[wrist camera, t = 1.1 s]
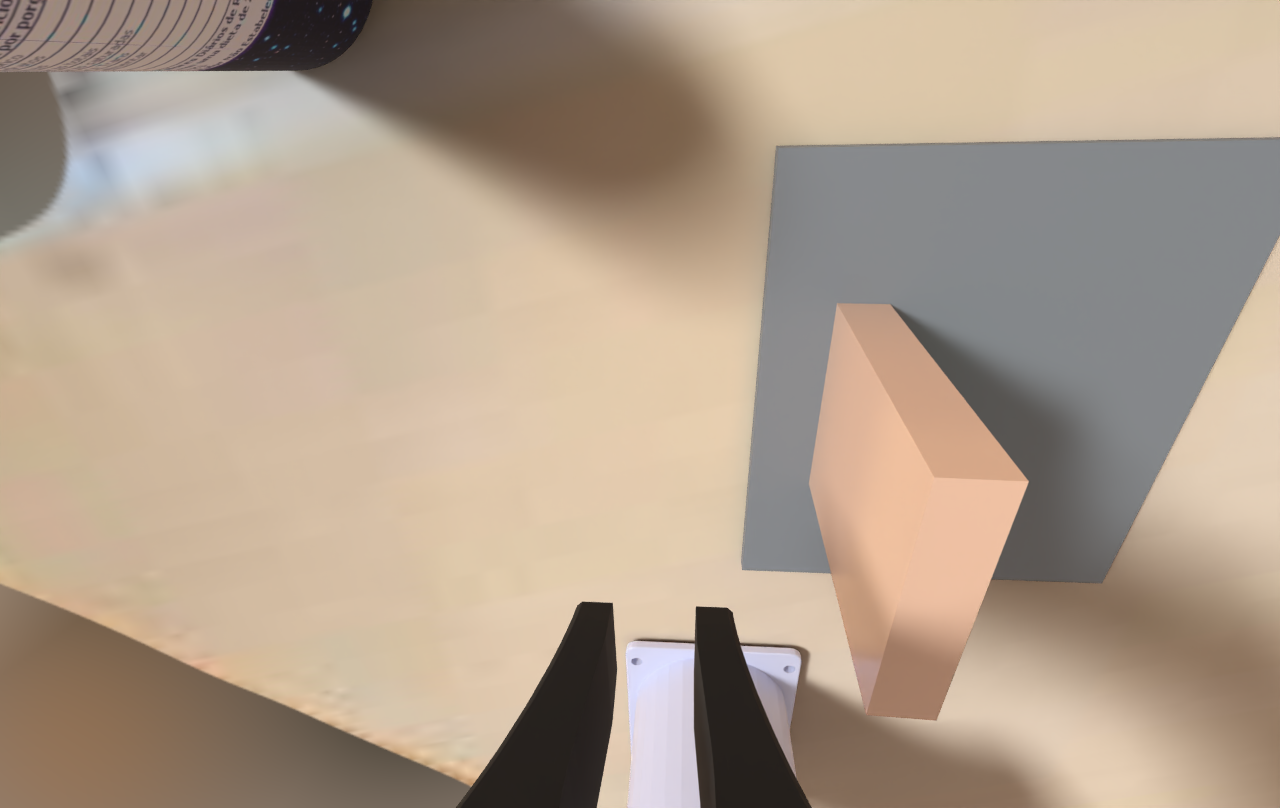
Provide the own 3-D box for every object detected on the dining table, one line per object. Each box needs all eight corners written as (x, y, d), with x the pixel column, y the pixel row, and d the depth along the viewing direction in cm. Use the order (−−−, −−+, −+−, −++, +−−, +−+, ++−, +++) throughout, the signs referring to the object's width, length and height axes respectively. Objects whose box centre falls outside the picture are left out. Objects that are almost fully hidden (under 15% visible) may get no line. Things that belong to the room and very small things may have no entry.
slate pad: (1094, 573, 23) (1101, 583, 23) (741, 561, 25) (742, 570, 24) (1310, 137, 16) (1328, 138, 15) (776, 146, 17) (778, 148, 16)
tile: (858, 485, 22) (945, 721, 14) (808, 483, 22) (866, 715, 14) (897, 304, 18) (1040, 481, 10) (836, 303, 18) (934, 477, 10)
